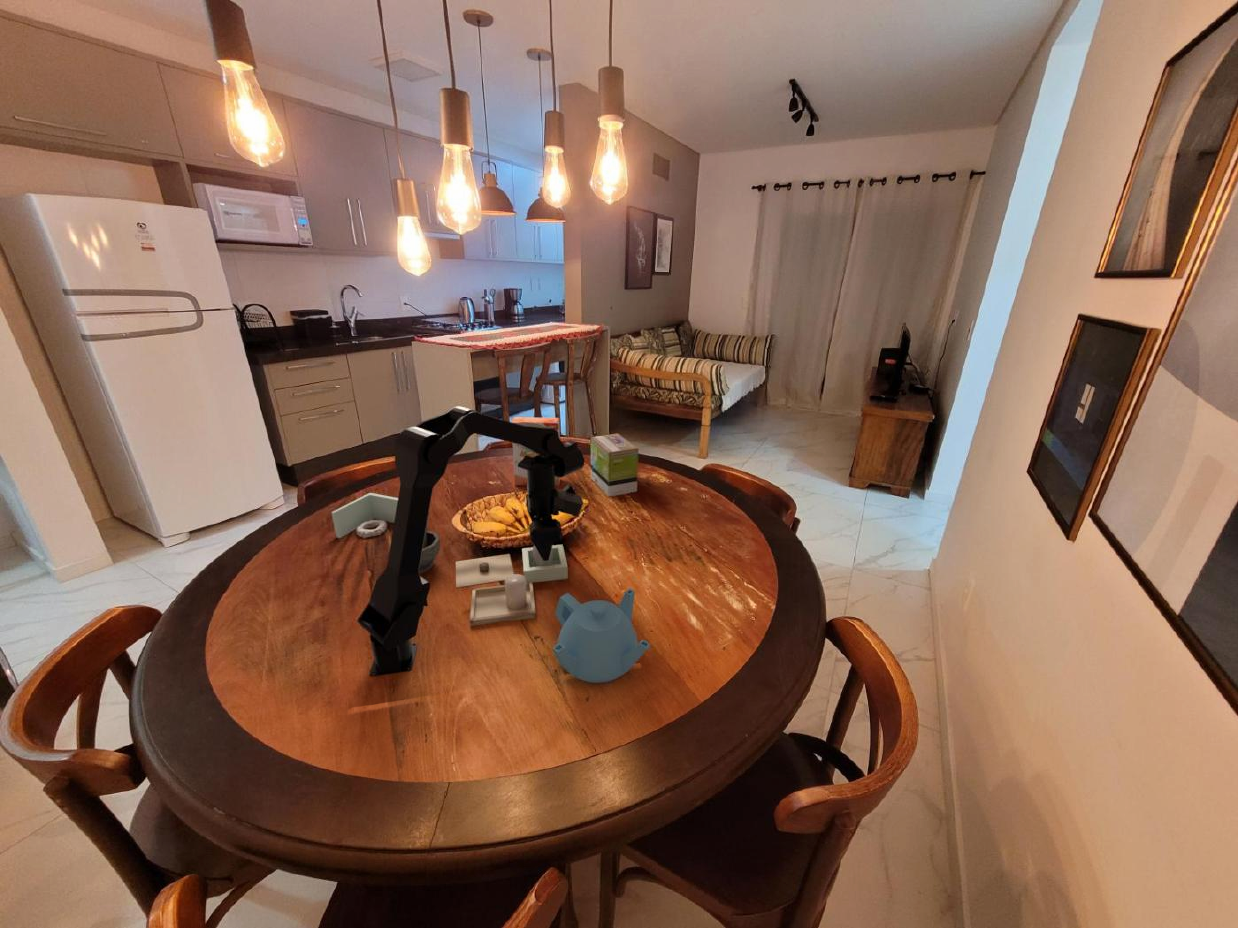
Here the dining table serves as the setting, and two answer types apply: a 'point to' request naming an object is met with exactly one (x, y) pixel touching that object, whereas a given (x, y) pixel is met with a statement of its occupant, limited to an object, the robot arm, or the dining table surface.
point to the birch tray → (498, 606)
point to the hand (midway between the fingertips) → (544, 548)
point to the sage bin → (545, 572)
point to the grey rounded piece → (539, 560)
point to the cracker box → (520, 453)
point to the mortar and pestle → (429, 550)
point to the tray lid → (483, 570)
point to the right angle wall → (365, 515)
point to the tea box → (614, 464)
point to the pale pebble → (515, 591)
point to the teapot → (597, 638)
